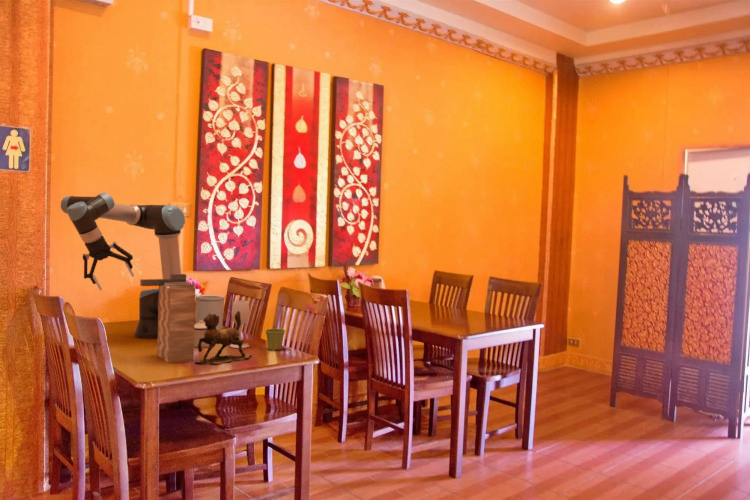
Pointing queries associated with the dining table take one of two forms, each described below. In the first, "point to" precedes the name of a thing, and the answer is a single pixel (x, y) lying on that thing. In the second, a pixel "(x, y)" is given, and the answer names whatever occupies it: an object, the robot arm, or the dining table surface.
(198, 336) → the teacup with lid
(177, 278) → the dark wood beam
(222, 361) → the figurine
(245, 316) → the wineglass
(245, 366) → the dining table surface
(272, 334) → the plant pot
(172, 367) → the dining table surface
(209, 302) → the utensil holder
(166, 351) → the stand
